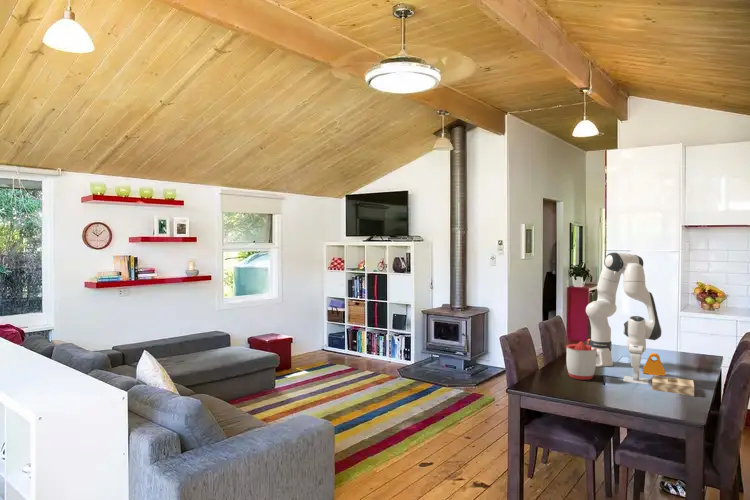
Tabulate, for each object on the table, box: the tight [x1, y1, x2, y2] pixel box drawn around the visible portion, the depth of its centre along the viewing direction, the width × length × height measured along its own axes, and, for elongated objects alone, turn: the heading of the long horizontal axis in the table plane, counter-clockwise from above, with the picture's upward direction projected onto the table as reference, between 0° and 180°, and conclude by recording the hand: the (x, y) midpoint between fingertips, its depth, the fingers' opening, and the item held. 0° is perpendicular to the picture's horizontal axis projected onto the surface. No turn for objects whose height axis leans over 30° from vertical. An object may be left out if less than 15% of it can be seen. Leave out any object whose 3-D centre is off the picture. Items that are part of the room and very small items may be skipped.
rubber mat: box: [622, 375, 650, 385], centre depth 275 cm, size 12×12×1 cm
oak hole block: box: [651, 375, 695, 397], centre depth 259 cm, size 18×14×4 cm
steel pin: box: [632, 367, 640, 381], centre depth 275 cm, size 3×3×9 cm
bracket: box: [642, 352, 666, 377], centre depth 288 cm, size 11×7×12 cm, turn 59°
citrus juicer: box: [565, 341, 599, 381], centre depth 281 cm, size 16×17×20 cm
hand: (636, 372), depth 275 cm, fingers open, 3 cm apart
